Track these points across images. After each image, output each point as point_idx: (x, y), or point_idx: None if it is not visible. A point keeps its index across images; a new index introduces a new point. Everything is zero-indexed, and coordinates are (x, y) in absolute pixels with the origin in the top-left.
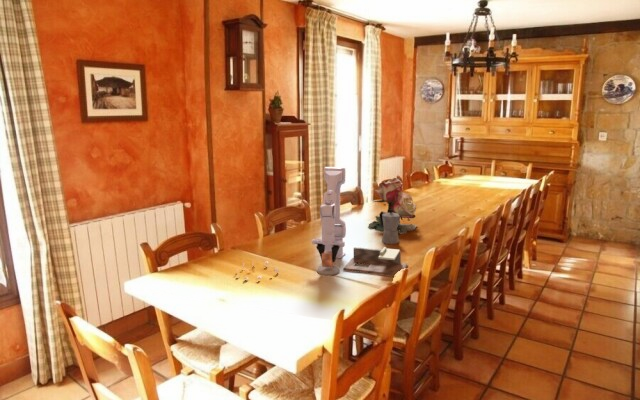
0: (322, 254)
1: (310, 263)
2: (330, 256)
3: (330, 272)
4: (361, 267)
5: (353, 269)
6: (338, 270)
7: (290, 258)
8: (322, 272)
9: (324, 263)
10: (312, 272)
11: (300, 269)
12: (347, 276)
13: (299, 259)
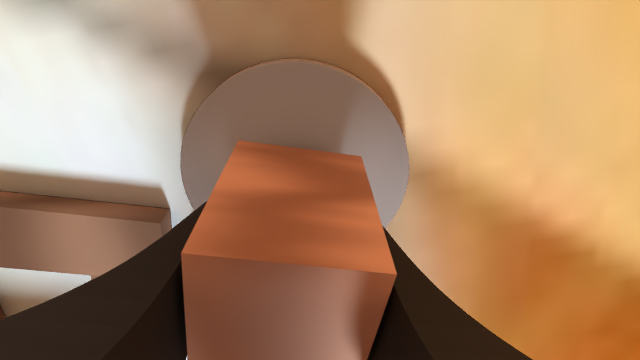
0: (377, 258)
1: (473, 299)
2: (214, 225)
3: (248, 88)
4: (7, 258)
5: (57, 210)
6: (186, 162)
7: (619, 353)
8: (338, 73)
9: (330, 170)
10: (449, 114)
11: (567, 170)
12: (59, 63)
13: (554, 347)
